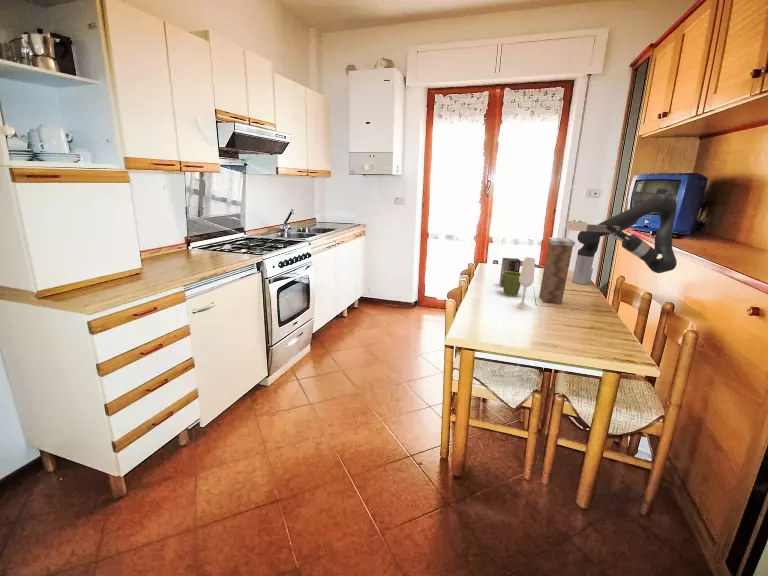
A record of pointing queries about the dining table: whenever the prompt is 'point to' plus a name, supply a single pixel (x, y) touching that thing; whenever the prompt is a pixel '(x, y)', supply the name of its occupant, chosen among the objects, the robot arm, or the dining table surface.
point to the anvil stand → (556, 270)
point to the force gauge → (587, 227)
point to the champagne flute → (526, 278)
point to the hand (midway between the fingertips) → (606, 225)
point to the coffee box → (509, 267)
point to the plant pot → (511, 283)
